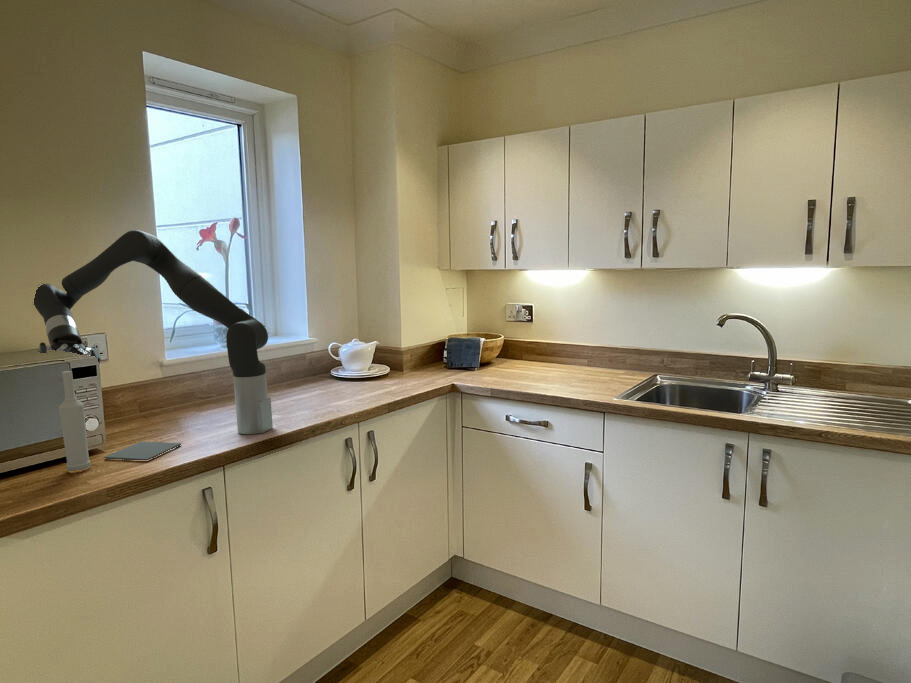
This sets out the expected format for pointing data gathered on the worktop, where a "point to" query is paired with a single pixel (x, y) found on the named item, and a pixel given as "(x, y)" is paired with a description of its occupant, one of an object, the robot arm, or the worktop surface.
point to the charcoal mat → (142, 451)
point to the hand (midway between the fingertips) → (75, 372)
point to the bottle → (73, 427)
